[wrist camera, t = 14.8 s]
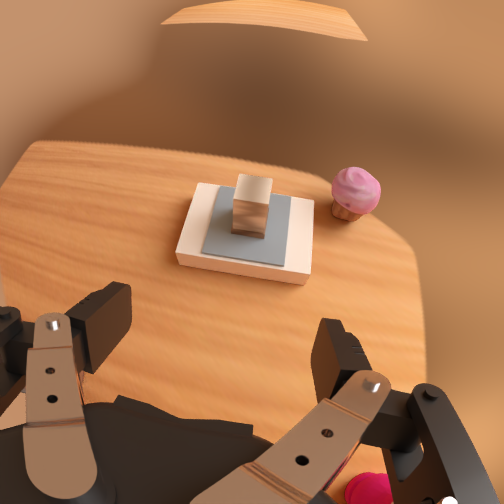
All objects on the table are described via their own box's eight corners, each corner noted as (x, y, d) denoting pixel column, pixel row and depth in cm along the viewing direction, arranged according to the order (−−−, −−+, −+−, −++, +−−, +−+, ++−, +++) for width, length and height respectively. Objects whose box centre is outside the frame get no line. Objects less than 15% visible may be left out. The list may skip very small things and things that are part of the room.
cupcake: (331, 188, 57) (345, 151, 48) (370, 206, 56) (389, 172, 47) (317, 219, 53) (331, 182, 44) (360, 239, 51) (382, 205, 43)
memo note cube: (231, 233, 45) (231, 199, 38) (237, 207, 47) (238, 172, 40) (264, 239, 45) (270, 205, 38) (268, 212, 47) (274, 177, 40)
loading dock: (179, 264, 47) (174, 250, 43) (200, 197, 54) (198, 180, 50) (304, 285, 46) (311, 272, 43) (309, 214, 53) (314, 198, 49)
